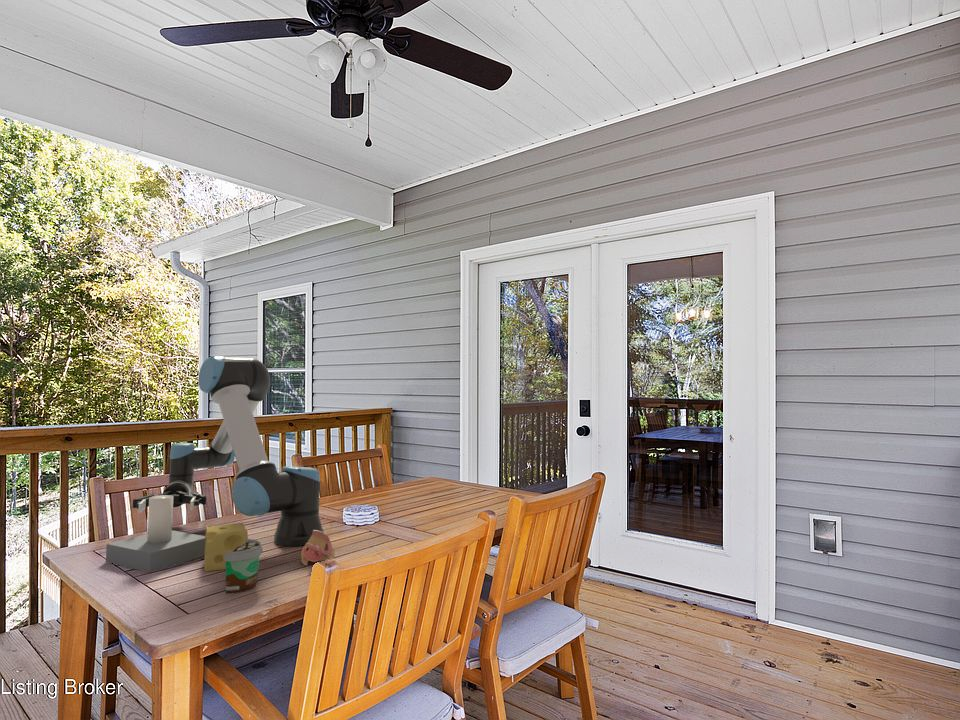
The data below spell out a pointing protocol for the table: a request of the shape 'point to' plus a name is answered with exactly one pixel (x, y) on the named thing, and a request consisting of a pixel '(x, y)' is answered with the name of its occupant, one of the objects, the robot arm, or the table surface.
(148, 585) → the table surface
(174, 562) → the plinth
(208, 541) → the cheese
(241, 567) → the food container
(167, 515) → the ceramic jar
